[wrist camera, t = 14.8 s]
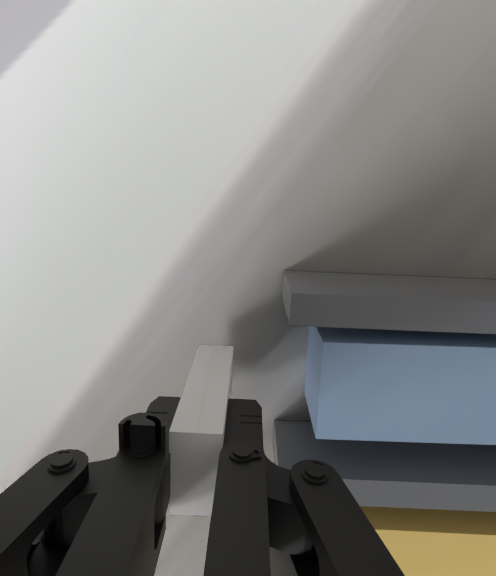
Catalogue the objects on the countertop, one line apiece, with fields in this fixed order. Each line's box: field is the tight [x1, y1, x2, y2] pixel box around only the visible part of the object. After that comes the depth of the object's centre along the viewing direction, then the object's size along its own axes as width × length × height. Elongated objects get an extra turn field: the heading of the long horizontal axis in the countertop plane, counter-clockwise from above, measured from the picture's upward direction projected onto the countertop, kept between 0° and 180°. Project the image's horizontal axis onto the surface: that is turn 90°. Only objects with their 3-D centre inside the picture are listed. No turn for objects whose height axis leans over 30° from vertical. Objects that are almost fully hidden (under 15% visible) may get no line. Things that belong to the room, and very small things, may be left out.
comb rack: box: [270, 271, 496, 576], centre depth 17 cm, size 17×16×5 cm
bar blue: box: [304, 326, 496, 445], centre depth 17 cm, size 12×4×4 cm, turn 88°
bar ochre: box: [360, 506, 496, 576], centre depth 19 cm, size 12×4×4 cm, turn 87°
